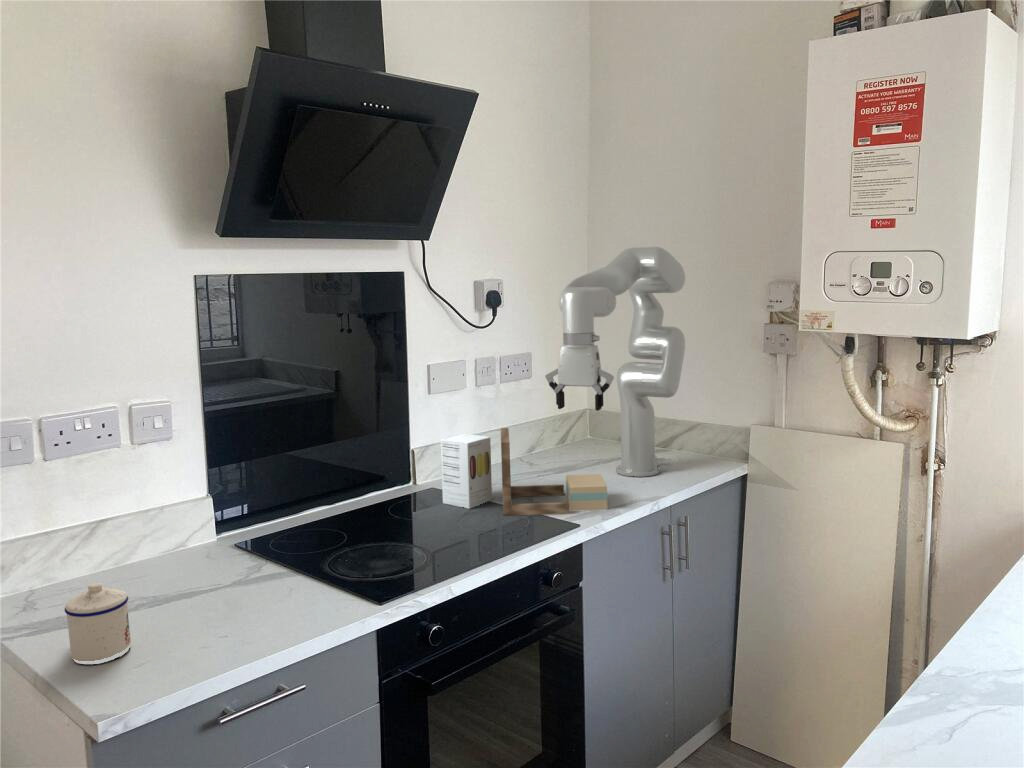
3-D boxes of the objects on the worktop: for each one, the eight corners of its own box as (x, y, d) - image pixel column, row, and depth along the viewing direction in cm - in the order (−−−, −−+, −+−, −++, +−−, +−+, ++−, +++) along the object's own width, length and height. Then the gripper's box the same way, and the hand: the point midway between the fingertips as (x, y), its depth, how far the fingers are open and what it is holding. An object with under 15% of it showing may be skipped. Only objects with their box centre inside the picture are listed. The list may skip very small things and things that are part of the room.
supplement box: (469, 509, 206) (466, 443, 204) (441, 504, 212) (438, 439, 209) (493, 500, 214) (491, 436, 211) (466, 495, 219) (463, 432, 217)
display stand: (563, 493, 218) (562, 426, 215) (569, 513, 200) (568, 440, 198) (502, 495, 217) (500, 428, 215) (503, 515, 200) (501, 442, 198)
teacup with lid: (142, 652, 133) (135, 583, 132) (82, 673, 127) (74, 600, 125) (113, 630, 142) (106, 565, 140) (55, 649, 135) (47, 581, 134)
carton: (601, 496, 215) (601, 473, 214) (607, 510, 203) (607, 486, 202) (566, 497, 215) (565, 475, 214) (570, 511, 203) (569, 487, 202)
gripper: (616, 338, 203) (617, 407, 206) (550, 338, 210) (551, 405, 212) (608, 342, 196) (609, 413, 199) (540, 341, 203) (541, 410, 205)
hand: (579, 408), depth 206 cm, fingers open, 9 cm apart
